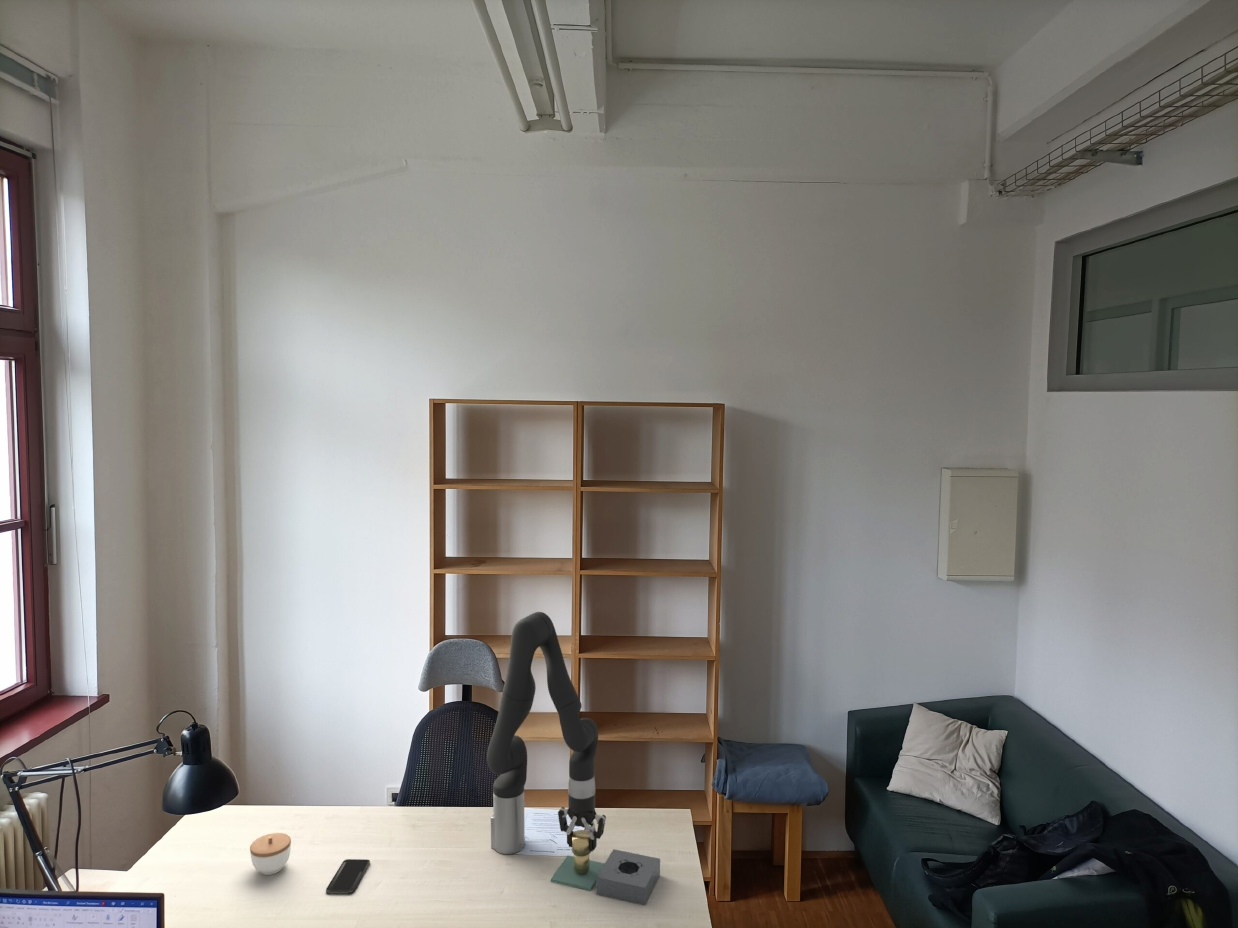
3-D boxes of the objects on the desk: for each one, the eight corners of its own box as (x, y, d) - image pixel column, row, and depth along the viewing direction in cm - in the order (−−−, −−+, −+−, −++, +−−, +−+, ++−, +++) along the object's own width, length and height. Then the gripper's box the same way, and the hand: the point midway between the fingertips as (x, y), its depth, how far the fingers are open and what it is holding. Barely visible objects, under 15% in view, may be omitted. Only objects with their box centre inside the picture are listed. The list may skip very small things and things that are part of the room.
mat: (550, 881, 222) (550, 878, 222) (567, 857, 233) (567, 855, 233) (590, 890, 218) (590, 887, 218) (605, 865, 229) (605, 863, 229)
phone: (324, 891, 216) (344, 858, 231) (324, 895, 216) (344, 862, 231) (353, 891, 216) (371, 859, 231) (353, 895, 216) (371, 862, 231)
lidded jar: (270, 854, 235) (269, 824, 234) (299, 861, 231) (298, 831, 230) (242, 875, 225) (240, 843, 224) (272, 883, 221) (271, 851, 220)
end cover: (568, 872, 223) (568, 838, 222) (576, 861, 229) (576, 828, 228) (587, 876, 222) (587, 842, 221) (594, 865, 227) (594, 831, 226)
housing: (596, 894, 216) (596, 876, 216) (613, 865, 230) (613, 848, 229) (645, 905, 212) (645, 887, 211) (660, 875, 225) (660, 858, 225)
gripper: (552, 792, 222) (553, 849, 223) (601, 801, 217) (600, 860, 219) (563, 780, 229) (563, 835, 230) (610, 788, 224) (610, 845, 226)
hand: (581, 847), depth 225 cm, fingers open, 6 cm apart
